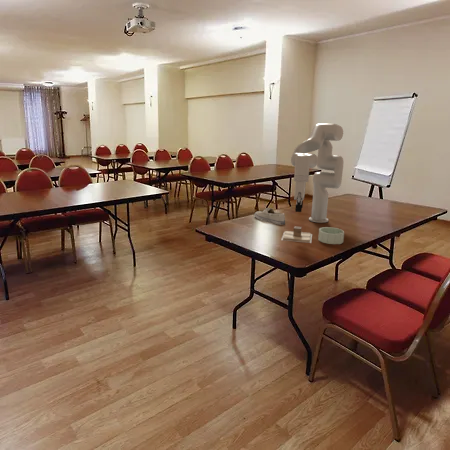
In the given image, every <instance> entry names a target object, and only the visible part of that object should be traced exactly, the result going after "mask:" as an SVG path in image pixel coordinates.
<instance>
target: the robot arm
mask: <svg viewBox="0 0 450 450" xmlns="http://www.w3.org/2000/svg"><path fill="white" fill-rule="evenodd" d="M343 136H344V129H343V127H342V126H341V125H339V124H336V123H325V122H324V123H321V122H320V123H316V124H315V125H314V126H313V128H312V130H311V132H310V134H309V137H308V139H306V140H304V141H303V142H300V144H298V145H297V146H296V147H295V148H294V150H293V152H292V155H291V157H290V164H291V165H292V167H294V176H293V181H294V182H295V185H294V186H295V187H294V196H293V200H295V201H296V202H295V208H294V211H295V212H296V213H297V212H298V213H302V209H303V206H304V199H305V196H306V195H305V193H306V186H307V185H306V184H307V183H309V178H310V176H309V175H310V169H313V168H315V167H317V169H319V170H322V171H316V172H315V173H314V174H313V176H312V184H313V188H312V189H313V193H312V204H311V216H310V217H308V221H310V222H312V223H316V224H317V223H319V224H324V223H325V224H326V223H328V222H329V218H327V215H328V204H329V203H328V202H329V192H328V190H327V189H339V188H341V186H342V181H343V171H344V158H343V156H341V155H339V154H338V155H337V154H333V144H332V143H331V142H332V141H335V142H337V141H339V142H340V141H341V140H342V139H343ZM316 151H317V154H314V153H312V152H316ZM323 170H324V171H323ZM325 171H326V172H325ZM327 171H332V172H327ZM326 188H327V189H326Z"/></svg>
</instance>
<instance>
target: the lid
mask: <svg viewBox="0 0 450 450" xmlns="http://www.w3.org/2000/svg"><path fill="white" fill-rule="evenodd" d="M302 227H303V226H297V225H296V226H295V225H294V227H293V231H291V230H285V231H284V232H285V234H284V237H283V240H282V241H284V240H291V241H290V242H295V241H302V242H301V243H306V242H310V234H311V232H303V231H302Z"/></svg>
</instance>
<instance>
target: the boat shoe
mask: <svg viewBox="0 0 450 450" xmlns="http://www.w3.org/2000/svg"><path fill="white" fill-rule="evenodd" d="M254 218H256V219H257V220H260V221H265V222H270V223H272V224H275V225H278V226H280V225H283V226H284V225H286V217H285V213H284V212H283V213H280V212H275V209H274V208H272V207H266V208H265V209H264V210H263V211H260V210H259V211H258V210H257V211H256V212H255V213H254Z"/></svg>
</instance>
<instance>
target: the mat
mask: <svg viewBox="0 0 450 450" xmlns="http://www.w3.org/2000/svg"><path fill="white" fill-rule="evenodd" d="M284 234H285V231H283V234H282V236H281V239H280V240H281V241H287V242H292V241H291V240H283V237H284ZM312 238H313V233H310V242H305V243H306V244H307V243H309V244H312ZM295 242H298V243H303V242H302V241H294V243H295Z"/></svg>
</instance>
